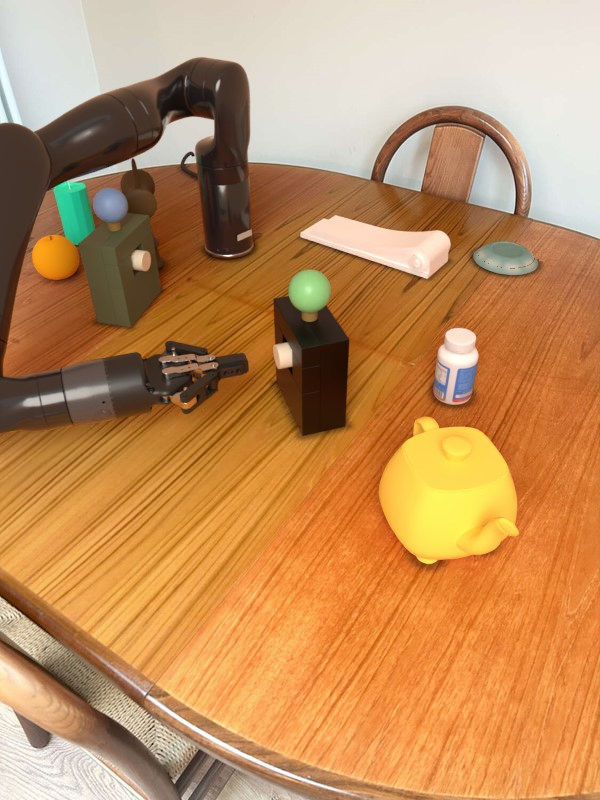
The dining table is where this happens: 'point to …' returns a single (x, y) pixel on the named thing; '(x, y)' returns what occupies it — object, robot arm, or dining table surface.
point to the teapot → (448, 493)
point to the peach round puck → (140, 260)
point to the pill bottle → (456, 367)
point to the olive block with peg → (119, 261)
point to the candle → (74, 211)
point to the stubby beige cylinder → (282, 355)
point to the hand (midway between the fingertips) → (246, 362)
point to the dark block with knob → (312, 354)
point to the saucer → (505, 258)
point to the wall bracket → (384, 244)
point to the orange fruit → (55, 257)
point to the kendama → (141, 197)
